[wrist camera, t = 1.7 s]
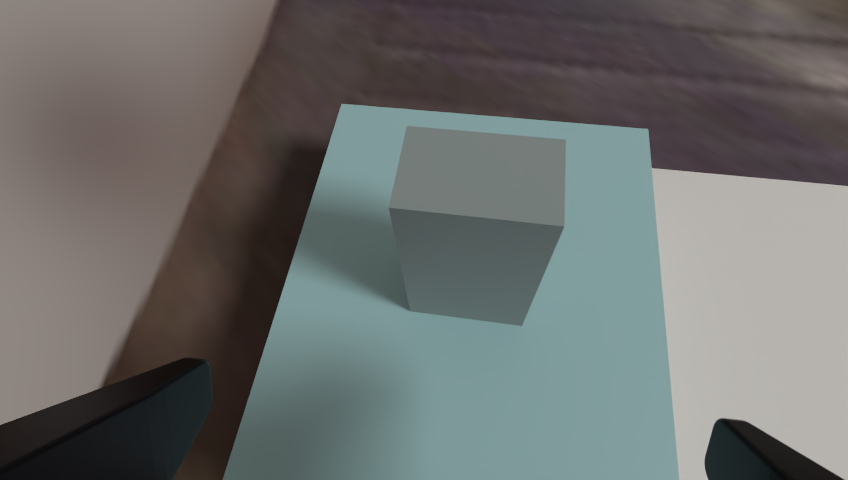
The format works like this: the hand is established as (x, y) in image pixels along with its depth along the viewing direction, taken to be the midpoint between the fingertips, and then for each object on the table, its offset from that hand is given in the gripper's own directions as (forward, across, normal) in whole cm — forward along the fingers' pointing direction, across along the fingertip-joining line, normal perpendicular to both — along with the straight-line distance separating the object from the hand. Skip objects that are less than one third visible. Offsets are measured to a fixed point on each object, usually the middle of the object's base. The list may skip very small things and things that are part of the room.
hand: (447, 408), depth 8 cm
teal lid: (+11, 0, +3) cm, 11 cm away
